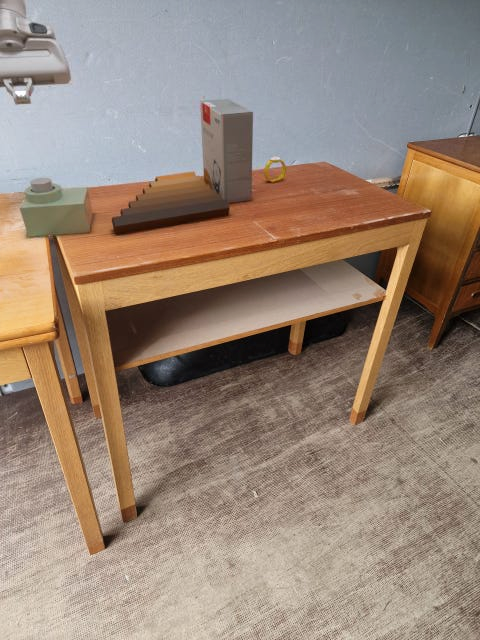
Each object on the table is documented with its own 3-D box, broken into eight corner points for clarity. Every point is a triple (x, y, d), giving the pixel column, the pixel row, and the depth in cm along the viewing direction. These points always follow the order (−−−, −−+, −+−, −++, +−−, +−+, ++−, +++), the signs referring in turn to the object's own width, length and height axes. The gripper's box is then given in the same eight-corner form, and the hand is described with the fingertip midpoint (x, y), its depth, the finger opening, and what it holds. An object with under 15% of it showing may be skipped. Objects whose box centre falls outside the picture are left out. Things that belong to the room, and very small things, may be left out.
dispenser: (28, 237, 90) (16, 198, 85) (36, 218, 97) (26, 181, 93) (89, 232, 91) (81, 194, 87) (92, 213, 99) (85, 178, 95)
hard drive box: (203, 184, 116) (199, 100, 104) (230, 180, 118) (229, 98, 106) (222, 205, 104) (220, 113, 92) (252, 200, 106) (254, 110, 94)
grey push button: (31, 194, 88) (28, 184, 87) (34, 188, 91) (31, 178, 90) (52, 193, 88) (49, 183, 87) (55, 186, 92) (52, 177, 90)
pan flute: (116, 236, 90) (229, 216, 98) (114, 220, 88) (229, 201, 96) (96, 196, 108) (192, 182, 117) (93, 182, 106) (192, 169, 115)
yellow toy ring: (281, 177, 120) (282, 155, 116) (287, 180, 118) (288, 157, 114) (262, 181, 118) (263, 158, 114) (267, 184, 116) (268, 161, 112)
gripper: (-56, 28, 82) (-43, 94, 81) (60, 26, 88) (74, 88, 87) (-44, 54, 88) (-31, 116, 87) (64, 50, 94) (77, 108, 93)
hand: (22, 102), depth 87 cm, fingers closed
